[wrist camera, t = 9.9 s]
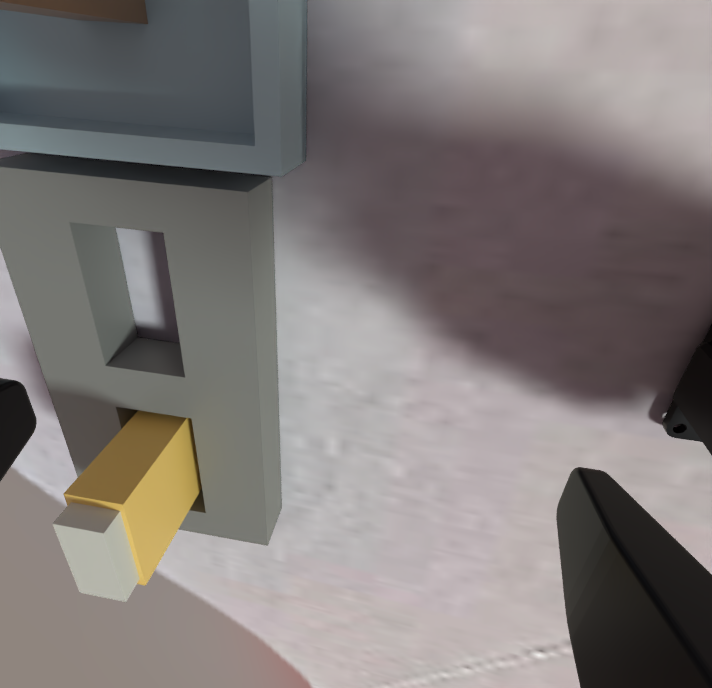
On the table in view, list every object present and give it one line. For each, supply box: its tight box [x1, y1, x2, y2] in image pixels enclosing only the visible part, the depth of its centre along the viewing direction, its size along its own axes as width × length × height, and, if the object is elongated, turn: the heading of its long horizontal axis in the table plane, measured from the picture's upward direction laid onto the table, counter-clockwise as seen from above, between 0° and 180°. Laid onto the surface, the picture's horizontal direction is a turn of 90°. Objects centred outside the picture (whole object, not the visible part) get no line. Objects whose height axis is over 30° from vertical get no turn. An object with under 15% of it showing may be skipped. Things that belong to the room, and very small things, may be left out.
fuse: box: [53, 410, 202, 602], centre depth 21 cm, size 2×5×8 cm, turn 176°
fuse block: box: [0, 153, 282, 546], centre depth 22 cm, size 10×18×2 cm, turn 177°
